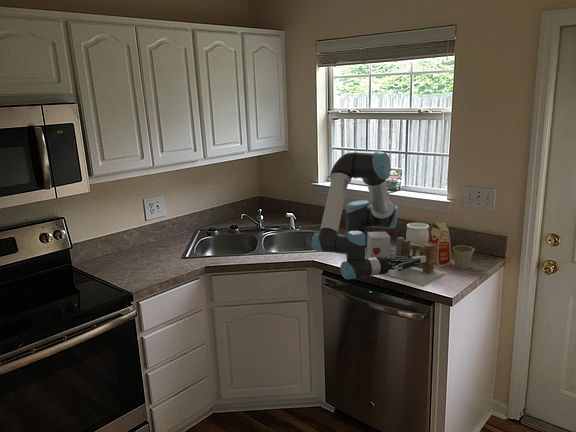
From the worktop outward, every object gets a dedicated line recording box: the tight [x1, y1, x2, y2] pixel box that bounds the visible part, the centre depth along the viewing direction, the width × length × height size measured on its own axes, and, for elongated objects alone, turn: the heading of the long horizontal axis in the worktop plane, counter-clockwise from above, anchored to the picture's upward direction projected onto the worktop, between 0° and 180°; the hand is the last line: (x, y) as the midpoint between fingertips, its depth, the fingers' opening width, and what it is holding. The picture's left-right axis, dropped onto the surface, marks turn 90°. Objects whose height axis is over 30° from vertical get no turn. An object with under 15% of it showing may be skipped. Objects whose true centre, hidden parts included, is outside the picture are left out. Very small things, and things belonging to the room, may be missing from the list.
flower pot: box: [451, 245, 475, 270], centre depth 217 cm, size 9×9×9 cm
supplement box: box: [366, 231, 391, 258], centre depth 221 cm, size 9×9×15 cm
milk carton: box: [428, 221, 452, 268], centre depth 221 cm, size 9×9×20 cm
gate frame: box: [380, 236, 446, 288], centre depth 209 cm, size 21×18×14 cm
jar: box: [405, 222, 430, 257], centre depth 234 cm, size 11×10×15 cm
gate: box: [403, 239, 435, 273], centre depth 212 cm, size 14×5×12 cm, turn 47°
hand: (425, 258), depth 207 cm, fingers closed
